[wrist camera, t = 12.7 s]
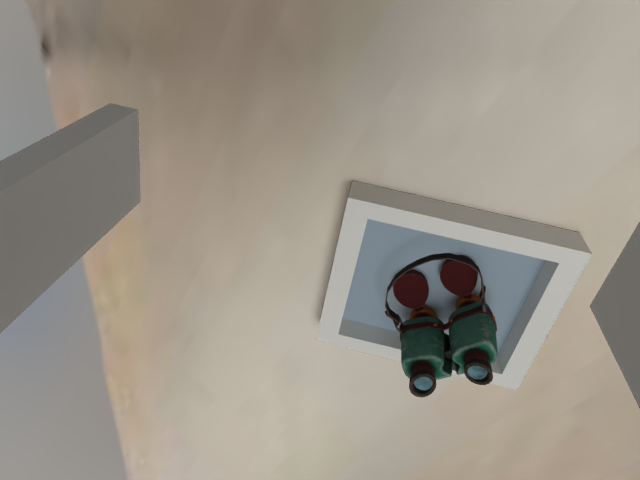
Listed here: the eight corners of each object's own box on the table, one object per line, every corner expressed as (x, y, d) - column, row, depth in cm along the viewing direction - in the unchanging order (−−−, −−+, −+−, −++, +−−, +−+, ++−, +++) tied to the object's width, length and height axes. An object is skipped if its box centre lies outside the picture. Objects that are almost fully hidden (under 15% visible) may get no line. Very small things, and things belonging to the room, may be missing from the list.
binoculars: (477, 285, 35) (518, 395, 38) (467, 226, 44) (500, 318, 47) (358, 316, 38) (405, 416, 41) (373, 255, 47) (410, 340, 50)
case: (352, 180, 44) (347, 197, 41) (579, 232, 43) (592, 253, 40) (321, 318, 52) (315, 340, 49) (510, 364, 51) (516, 390, 48)
